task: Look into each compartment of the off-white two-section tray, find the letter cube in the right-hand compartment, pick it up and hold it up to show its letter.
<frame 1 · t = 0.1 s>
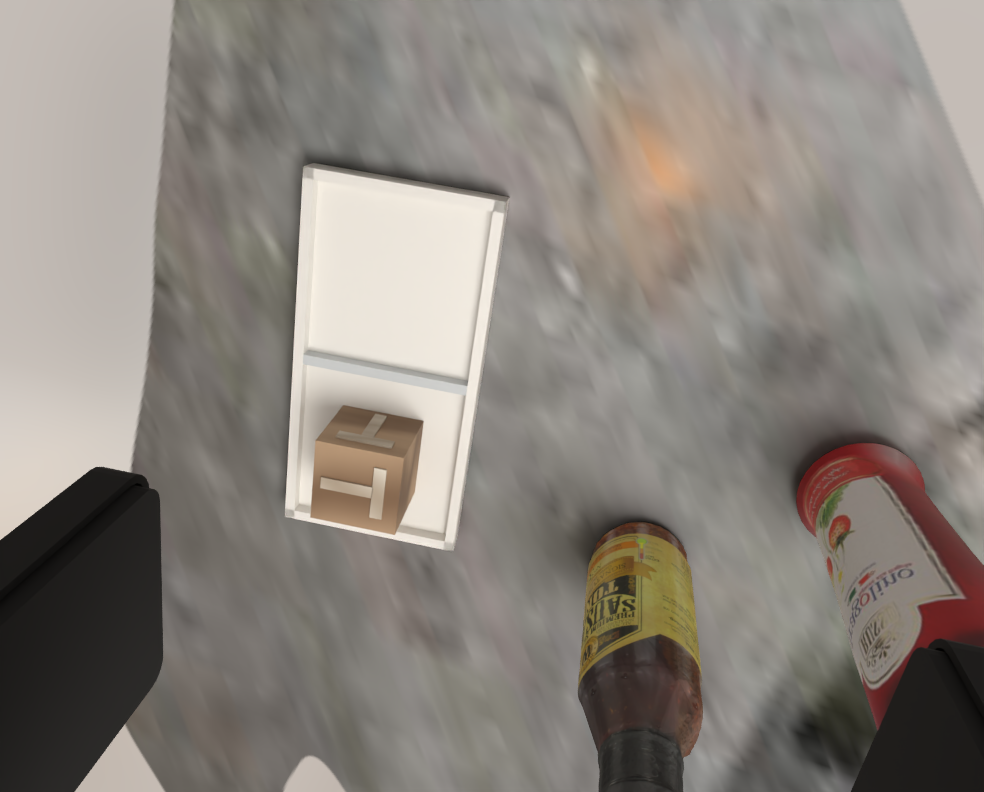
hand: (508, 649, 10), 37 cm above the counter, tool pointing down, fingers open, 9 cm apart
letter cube: (379, 449, 51), point 1 cm above the counter, touching tray
sauce bottle: (637, 559, 52), on the counter
tray: (391, 365, 49), on the counter
liquor: (852, 484, 48), on the counter
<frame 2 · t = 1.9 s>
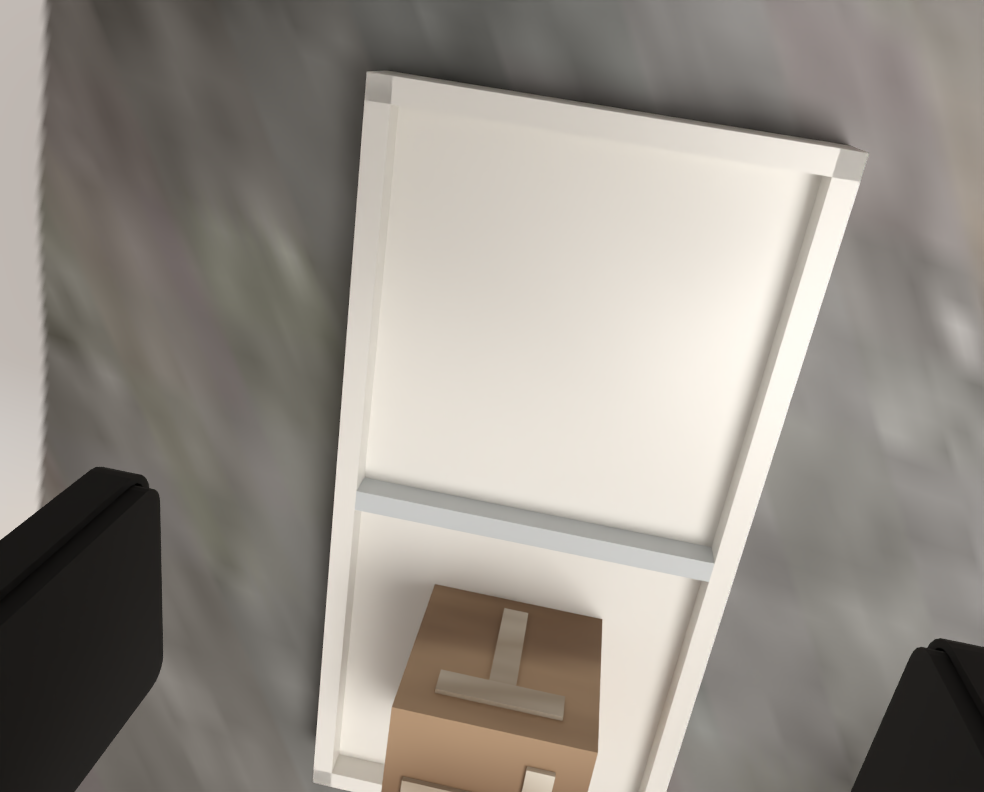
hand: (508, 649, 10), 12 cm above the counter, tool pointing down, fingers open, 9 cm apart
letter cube: (505, 667, 25), point 1 cm above the counter, touching tray
tray: (536, 506, 24), on the counter
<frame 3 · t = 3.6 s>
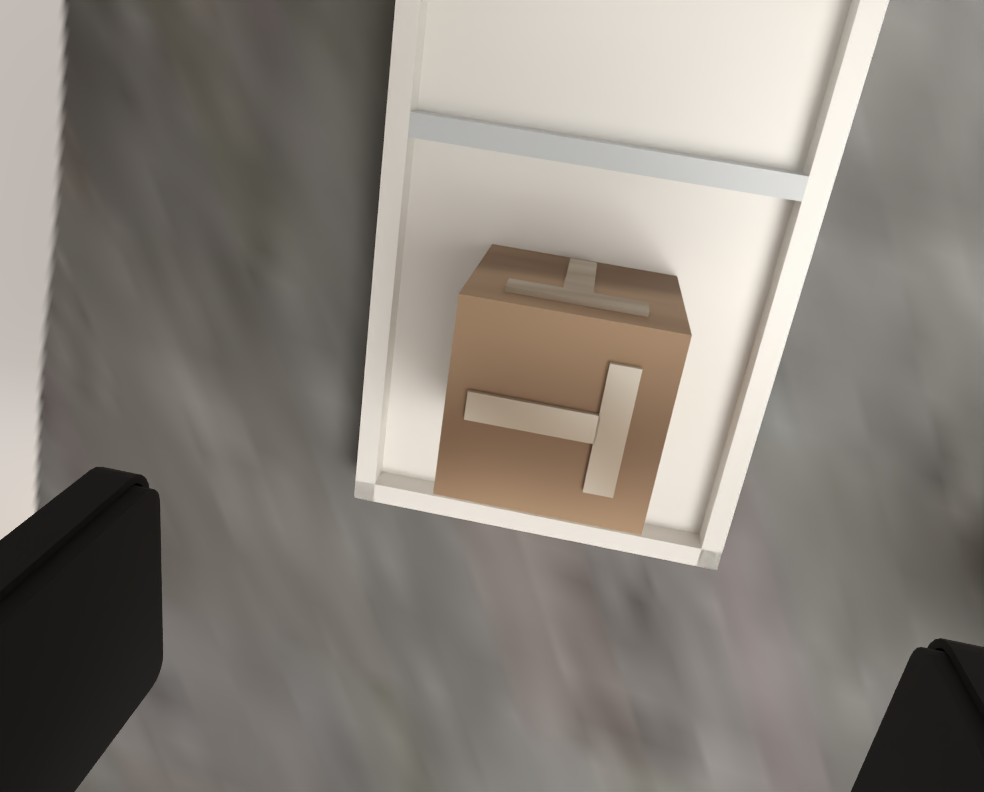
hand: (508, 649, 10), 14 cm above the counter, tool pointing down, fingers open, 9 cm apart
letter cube: (567, 346, 23), point 1 cm above the counter, touching tray
tray: (604, 149, 22), on the counter
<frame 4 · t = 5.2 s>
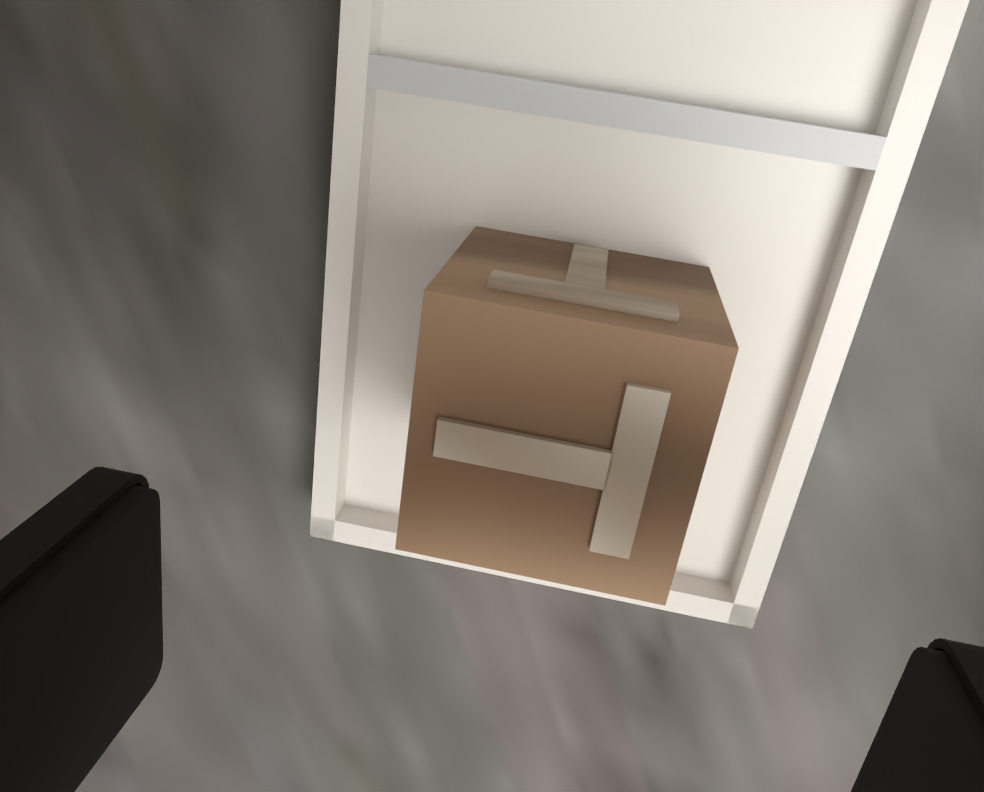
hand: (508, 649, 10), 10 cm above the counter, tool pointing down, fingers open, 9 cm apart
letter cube: (570, 354, 18), point 1 cm above the counter, touching tray
tray: (618, 105, 17), on the counter
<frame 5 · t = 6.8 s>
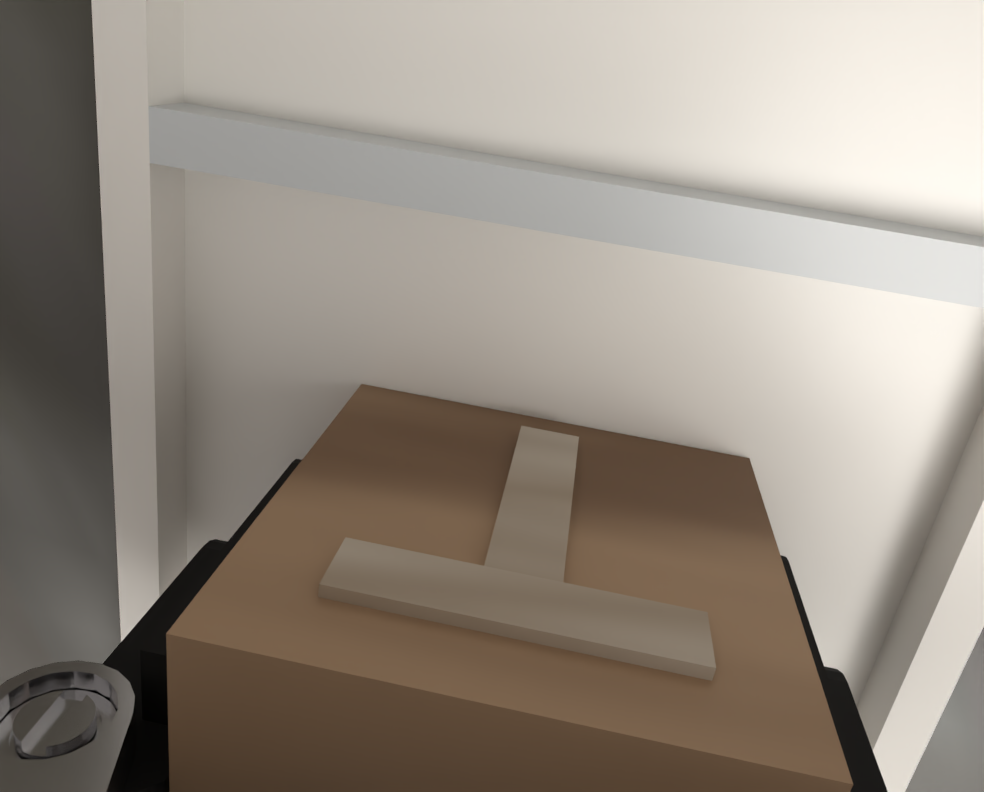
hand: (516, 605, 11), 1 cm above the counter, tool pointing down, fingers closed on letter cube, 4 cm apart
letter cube: (521, 580, 11), point 1 cm above the counter, touching gripper, tray
tray: (596, 188, 10), on the counter
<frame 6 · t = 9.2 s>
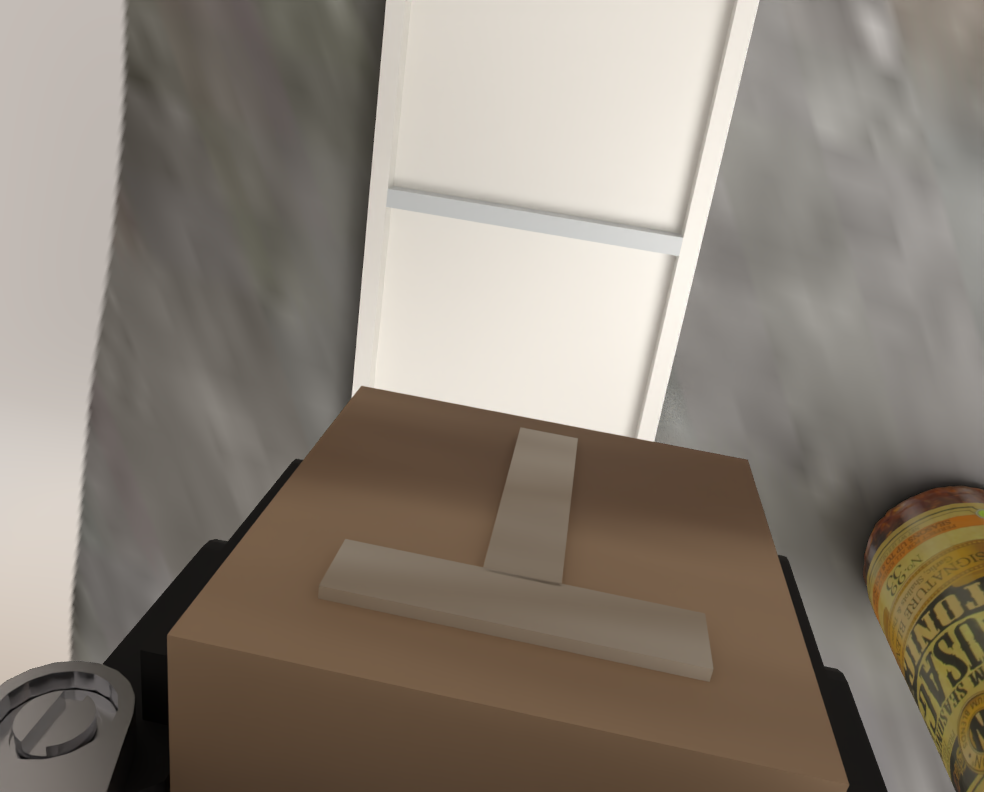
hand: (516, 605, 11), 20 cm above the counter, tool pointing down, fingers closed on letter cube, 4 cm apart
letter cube: (520, 581, 11), point 19 cm above the counter, touching gripper
sauce bottle: (936, 552, 31), on the counter
tray: (536, 215, 28), on the counter
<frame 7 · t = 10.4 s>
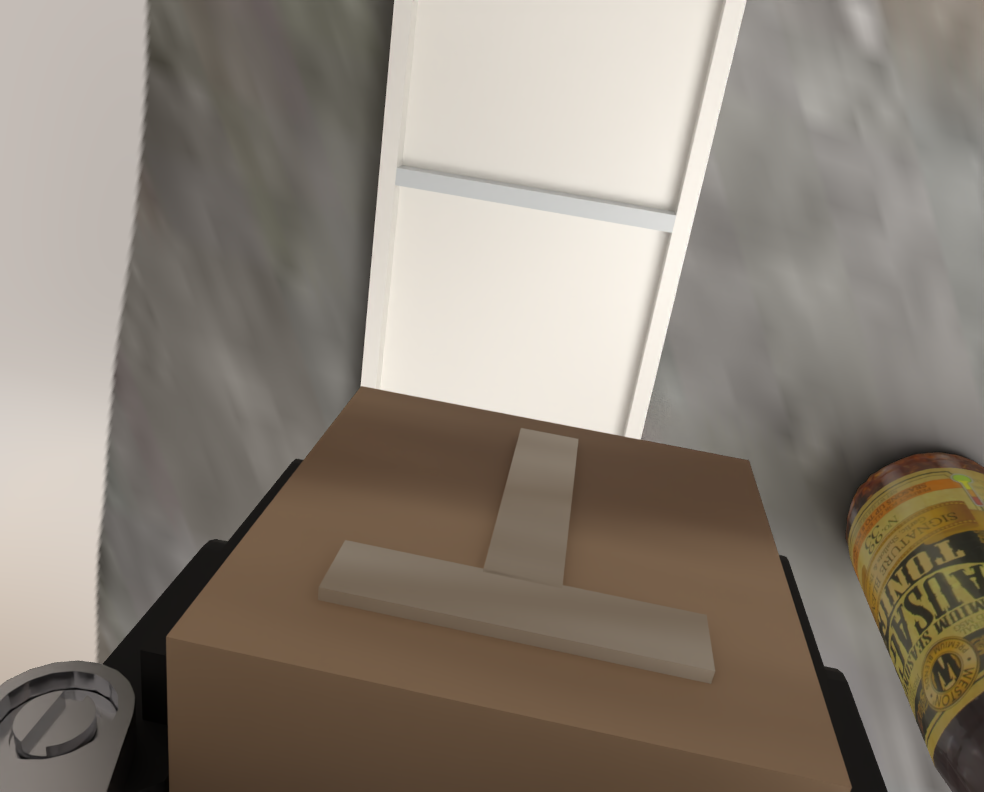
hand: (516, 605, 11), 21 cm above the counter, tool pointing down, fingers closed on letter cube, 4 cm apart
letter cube: (520, 582, 11), point 21 cm above the counter, touching gripper
sauce bottle: (915, 515, 33), on the counter
tray: (537, 193, 30), on the counter
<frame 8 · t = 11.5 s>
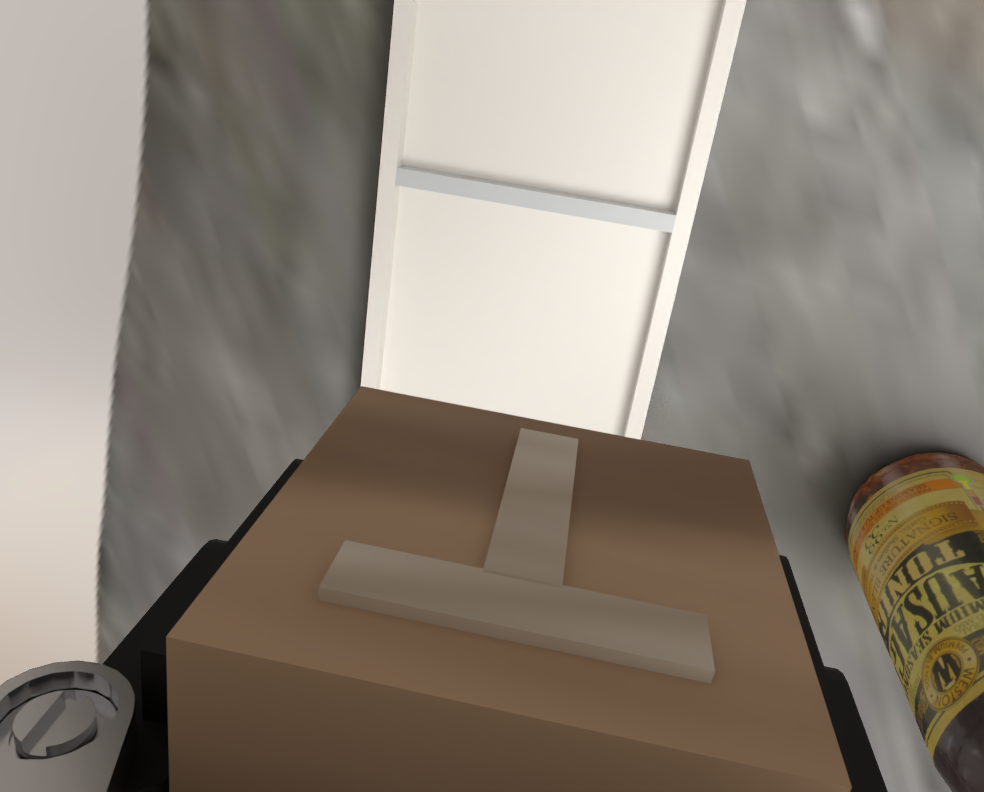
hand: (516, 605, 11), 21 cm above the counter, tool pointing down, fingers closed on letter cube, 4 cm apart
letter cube: (520, 582, 11), point 21 cm above the counter, touching gripper
sauce bottle: (915, 515, 33), on the counter
tray: (537, 193, 30), on the counter
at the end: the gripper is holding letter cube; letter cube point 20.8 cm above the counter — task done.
